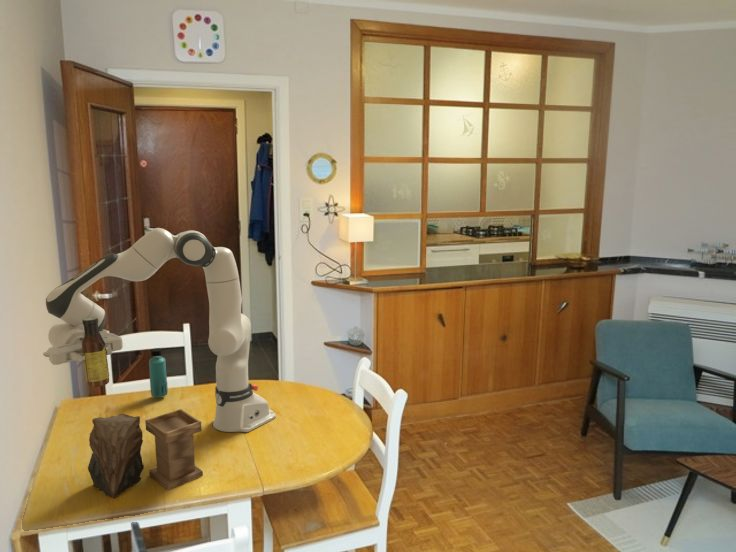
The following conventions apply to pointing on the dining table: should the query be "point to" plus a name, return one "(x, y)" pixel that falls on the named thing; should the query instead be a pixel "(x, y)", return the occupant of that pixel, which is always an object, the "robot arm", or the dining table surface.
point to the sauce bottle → (94, 354)
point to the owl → (115, 453)
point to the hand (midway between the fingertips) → (96, 355)
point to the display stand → (174, 448)
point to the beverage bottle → (158, 374)
